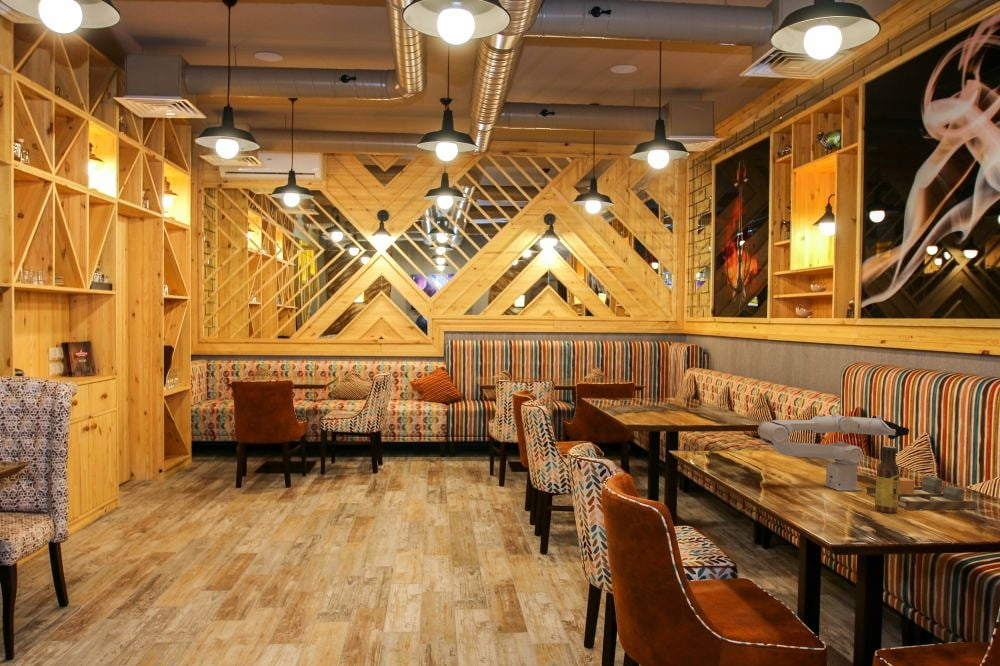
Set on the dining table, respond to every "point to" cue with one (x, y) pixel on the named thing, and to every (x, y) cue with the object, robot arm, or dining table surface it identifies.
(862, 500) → the dining table surface
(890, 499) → the sauce bottle
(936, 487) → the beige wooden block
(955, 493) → the lane board
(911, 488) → the orange cube
